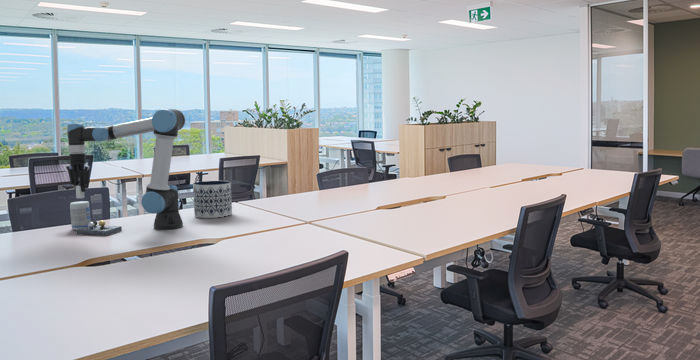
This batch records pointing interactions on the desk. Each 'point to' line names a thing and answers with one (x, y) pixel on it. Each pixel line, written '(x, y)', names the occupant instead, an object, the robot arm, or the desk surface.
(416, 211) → the desk surface
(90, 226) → the steel ball
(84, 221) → the supplement tub
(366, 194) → the desk surface
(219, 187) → the planter
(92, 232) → the plate
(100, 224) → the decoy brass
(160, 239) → the desk surface
